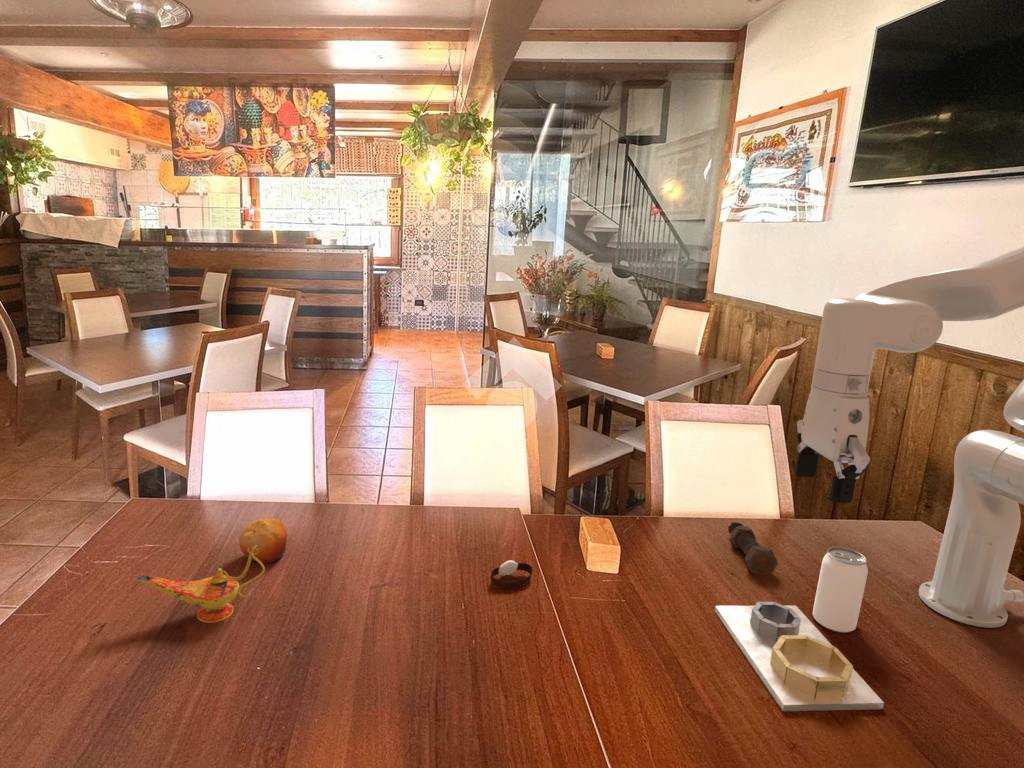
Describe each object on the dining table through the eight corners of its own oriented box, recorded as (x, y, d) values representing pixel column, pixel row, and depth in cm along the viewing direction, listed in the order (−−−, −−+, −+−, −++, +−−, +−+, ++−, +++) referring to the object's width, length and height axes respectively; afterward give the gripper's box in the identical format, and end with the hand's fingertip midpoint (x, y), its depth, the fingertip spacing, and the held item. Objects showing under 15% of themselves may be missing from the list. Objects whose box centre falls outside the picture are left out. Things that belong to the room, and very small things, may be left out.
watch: (525, 571, 111) (526, 553, 110) (537, 585, 107) (538, 566, 106) (485, 579, 108) (486, 560, 107) (496, 593, 104) (497, 574, 103)
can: (854, 639, 97) (869, 570, 94) (809, 624, 100) (822, 557, 97) (857, 619, 102) (871, 553, 99) (814, 605, 105) (826, 541, 102)
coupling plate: (794, 610, 103) (798, 592, 102) (882, 709, 82) (887, 686, 81) (714, 611, 102) (717, 592, 101) (782, 711, 81) (786, 688, 80)
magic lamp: (146, 605, 95) (139, 540, 93) (270, 596, 99) (267, 533, 97) (130, 633, 89) (122, 564, 86) (263, 621, 93) (260, 555, 90)
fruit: (306, 543, 113) (285, 517, 108) (275, 579, 109) (252, 553, 104) (277, 530, 117) (257, 504, 112) (246, 564, 113) (224, 539, 108)
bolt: (736, 545, 129) (764, 582, 114) (717, 532, 129) (742, 568, 114) (753, 523, 128) (783, 558, 113) (734, 510, 128) (761, 543, 113)
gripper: (903, 397, 84) (880, 513, 88) (830, 369, 101) (814, 468, 105) (851, 396, 83) (830, 513, 87) (786, 369, 100) (771, 467, 104)
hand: (821, 488), depth 96 cm, fingers open, 9 cm apart
